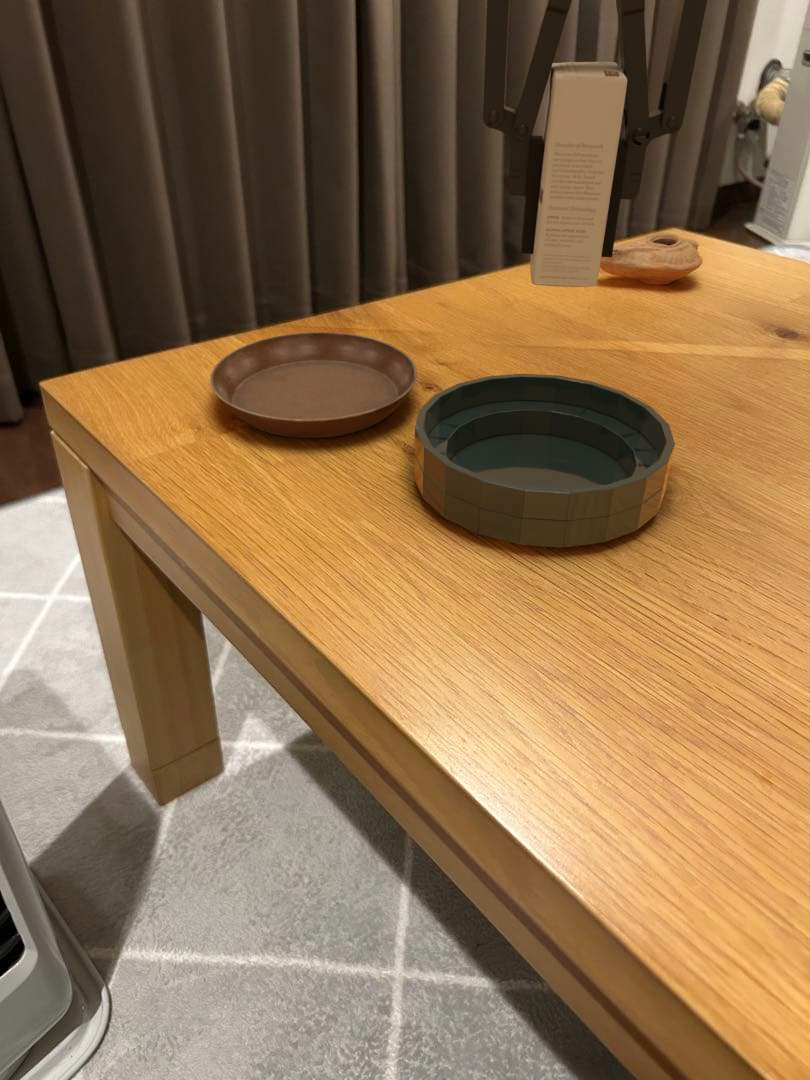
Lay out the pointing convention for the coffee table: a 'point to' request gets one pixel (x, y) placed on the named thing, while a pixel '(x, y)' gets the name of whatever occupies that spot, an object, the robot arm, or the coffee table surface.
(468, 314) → the coffee table surface
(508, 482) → the bowl
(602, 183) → the cosmetic box
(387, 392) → the plant saucer
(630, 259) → the pottery oil lamp
